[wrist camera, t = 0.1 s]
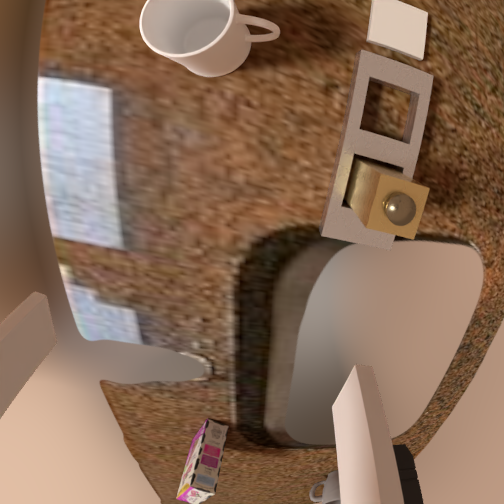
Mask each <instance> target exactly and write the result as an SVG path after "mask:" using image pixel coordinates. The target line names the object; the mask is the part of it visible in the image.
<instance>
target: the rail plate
mask: <svg viewBox="0 0 504 504" xmlns="http://www.w3.org/2000/svg"><path fill="white" fill-rule="evenodd" d="M369 81H372V82H375V83H378V84H381V85H384V86H387V87H390V88H393V89H396V90H399V91H402V92H405V93H407V94H410V95H411V100H410V105H409V110H408V115H407V120H406V125H405V130H404V135H403V139H402V142H400V141H397V140H394V139H391V138H388V137H385V136H382V135H378V134H375V133H371V132H368V131H364V130H361V129H360V124H361V119H362V114H363V109H364V104H365V99H366V93H367V88H368V82H369ZM432 82H433V75H430V74H428V73H426V72H423V71H421V70H418V69H416V68H413V67H411V66H408V65H406V64H403V63H400V62H398V61H395V60H392V59H389V58H386V57H383V56H380V55H377V54H374V53H371V52H368V51H365V50H360V51H359V52H358V53H356V57H355V63H354V69H353V74H352V80H351V85H350V91H349V96H348V101H347V107H346V112H345V117H344V122H343V126H342V131H341V136H340V141H339V145H338V150H337V155H336V159H335V164H334V168H333V172H332V177H331V181H330V185H329V189H328V194H327V198H326V202H325V206H324V210H323V214H322V218H321V222H320V226H319V230H320V233H321V236H325V237H330V238H335V239H340V240H344V241H349V242H354V243H359V244H363V245H368V246H373V247H377V248H382V249H386V250H391V247H392V244H393V241H394V238H395V235H393V234H389V233H385V232H381V231H376V230H372V229H368V228H366V227H365V226H364V225H363V223H362V222H361V220H360V219H359V218H358V216H357V215H356V214H355V212H354V211H353V209H352V208H351V207H350V205H349V204H348V203H345V202H342V201H343V197H344V194H345V190H346V185H347V181H348V177H349V173H350V169H351V165H352V160H353V156H354V154H358V155H362V156H366V157H369V158H373V159H376V160H380V161H383V162H387V163H390V164H393V165H396V169H395V170H397V171H399V172H400V173H402V174H404V175H406V176H408V177H410V178H413V174H414V170H415V166H416V162H417V158H418V154H419V150H420V145H421V141H422V136H423V132H424V127H425V122H426V117H427V112H428V106H429V101H430V95H431V89H432Z"/></svg>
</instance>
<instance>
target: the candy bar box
mask: <svg viewBox="0 0 504 504" xmlns="http://www.w3.org/2000/svg"><path fill="white" fill-rule="evenodd" d="M228 427H229V426H227V425H225V424H222V423H219V422H217V421H214V420H211V419H207V420H206V421H205V423H204V424H203V426H202V427H201V429H200V430H199V431H198V433H197V434H196V436H195V437H194V438H193V440H192V443H191V447H190V450H189V454H188V458H187V461H186V465H185V469H184V472H183V475H182V479H181V483H180V486H179V490H178V494H177V497H176V499H179V500H181V501H185V502H188V503H192V504H200V503H202V502H204V501H205V500H207V499H208V498H210V497H211V496H213V495H214V494H215V492H216V487H217V482H218V477H219V472H220V467H221V462H222V457H223V452H224V446H225V442H226V436H227V431H228Z"/></svg>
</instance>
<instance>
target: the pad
mask: <svg viewBox="0 0 504 504" xmlns="http://www.w3.org/2000/svg"><path fill="white" fill-rule="evenodd" d="M427 17H428V13H427V12H425V11H422V10H420V9H418V8H415V7H413V6H410V5H408V4H405V3H403V2H400V1H398V0H372V6H371V14H370V21H369V28H368V35H367V42H369V43H373V44H376V45H379V46H382V47H385V48H388V49H391V50H393V51H396V52H399V53H402V54H404V55H407V56H409V57H412V58H414V59H417V60H419V61H420V60H423V56H424V47H425V38H426V28H427Z"/></svg>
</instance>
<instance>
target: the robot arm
mask: <svg viewBox="0 0 504 504" xmlns="http://www.w3.org/2000/svg"><path fill="white" fill-rule="evenodd" d="M56 344H57V339H56V335H55V331H54V327H53V323H52V319H51V315H50V310H49V305H48V300H47V296H46V295H43V294H41V293H38V292H33V293H32V294H31V295H30V296H29V297H28V298H27V299H26V300H24V301H23V302H22V303H21V304H20V305H19V306H18V307H17V308H16V309H15V310H14V311H13V312H12V313H11V314H9V315H8V316H7V317H6V319H4V320H3V321H2V322H1V323H0V418H1V417H2V416H3V414H4V413H5V411H6V410H7V408H8V407H9V405H10V404H11V403H12V401H13V400H14V398H15V397H16V396H17V394H18V393H19V391H20V390H21V389H22V388H23V386H24V385H25V383H26V382H27V381H28V379H29V378H30V377H31V376H32V374H33V373H34V372H35V370H36V369H37V368H38V366H39V365H40V364H41V362H42V361H43V360H44V359H45V357H46V356H47V355H48V354H49V352H50V351H51V350H52V349H53V347H54V346H55V345H56ZM332 410H333V419H334V428H335V438H336V449H337V459H338V471H339V484H340V498H341V504H423V499H422V494H421V489H420V485H419V480H417V478H418V476H417V472H416V470H415V468H416V467H415V463H414V459H413V455H412V454H411V452H410V451H409V449H408V448H407V447H406V445H405V444H404V445H392V441H391V436H390V433H389V428H388V424H387V420H386V416H385V412H384V408H383V404H382V400H381V396H380V393H379V389H378V385H377V382H376V378H375V374H374V371H373V367H372V366H365V365H354V368H353V369H352V371H351V373H350V375H349V377H348V379H347V381H346V383H345V385H344V386H343V388H342V390H341V392H340V394H339V396H338V398H337V399H336V401H335V403H334V404H333V406H332Z"/></svg>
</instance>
